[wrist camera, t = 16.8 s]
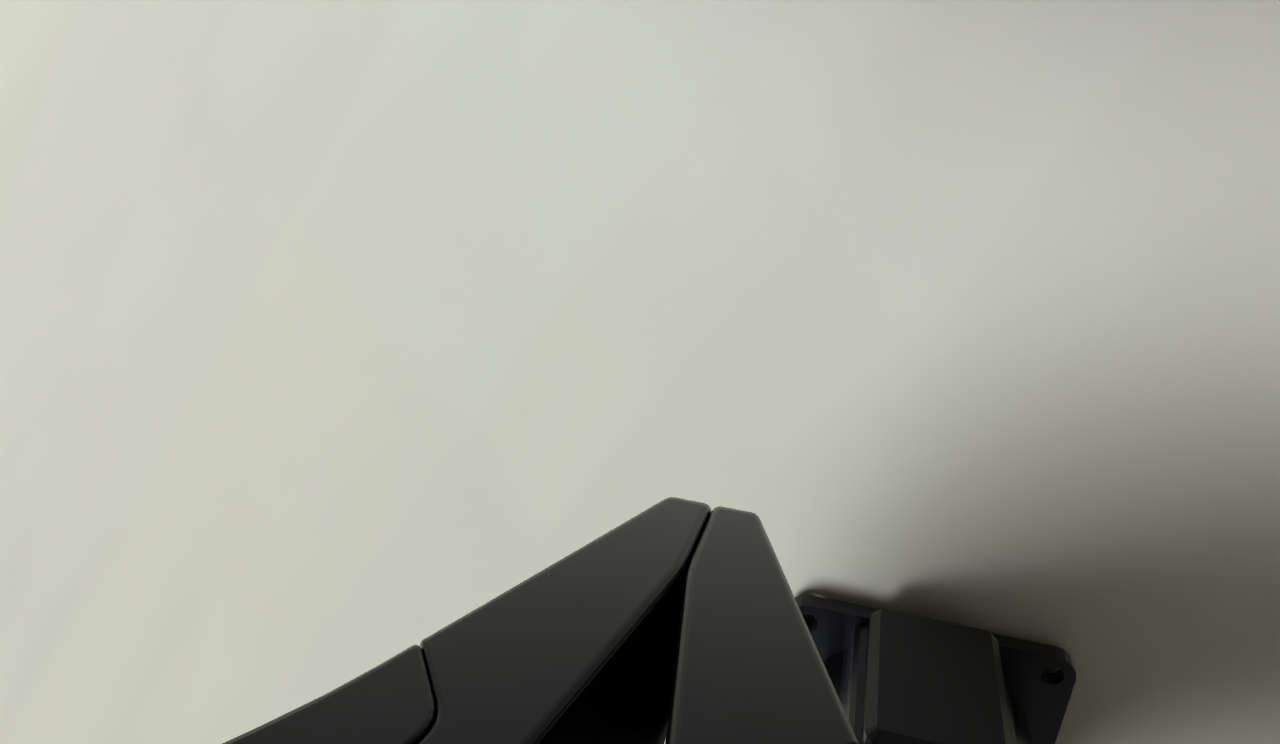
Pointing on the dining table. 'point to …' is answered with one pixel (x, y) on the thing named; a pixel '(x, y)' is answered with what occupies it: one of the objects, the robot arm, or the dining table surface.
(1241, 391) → the dining table surface
